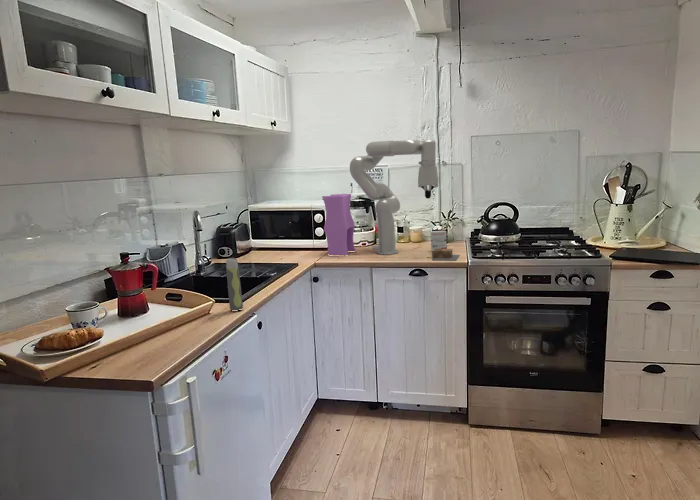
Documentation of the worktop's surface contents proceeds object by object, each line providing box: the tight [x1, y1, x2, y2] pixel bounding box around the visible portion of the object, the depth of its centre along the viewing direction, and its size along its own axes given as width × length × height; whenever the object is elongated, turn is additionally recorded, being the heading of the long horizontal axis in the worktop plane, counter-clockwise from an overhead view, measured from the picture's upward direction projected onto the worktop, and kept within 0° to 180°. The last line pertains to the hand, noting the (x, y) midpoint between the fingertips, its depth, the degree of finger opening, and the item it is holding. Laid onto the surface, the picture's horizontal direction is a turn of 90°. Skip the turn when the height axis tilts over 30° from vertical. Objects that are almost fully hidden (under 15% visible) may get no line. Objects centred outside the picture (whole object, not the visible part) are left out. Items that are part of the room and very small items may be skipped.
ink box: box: [430, 230, 448, 253], centre depth 272 cm, size 9×5×12 cm, turn 84°
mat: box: [432, 254, 460, 262], centre depth 253 cm, size 12×14×1 cm
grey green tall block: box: [225, 257, 244, 310], centre depth 178 cm, size 5×5×20 cm
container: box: [321, 193, 357, 256], centre depth 280 cm, size 14×14×35 cm
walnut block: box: [431, 248, 454, 259], centre depth 254 cm, size 4×6×10 cm
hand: (427, 198), depth 259 cm, fingers closed
